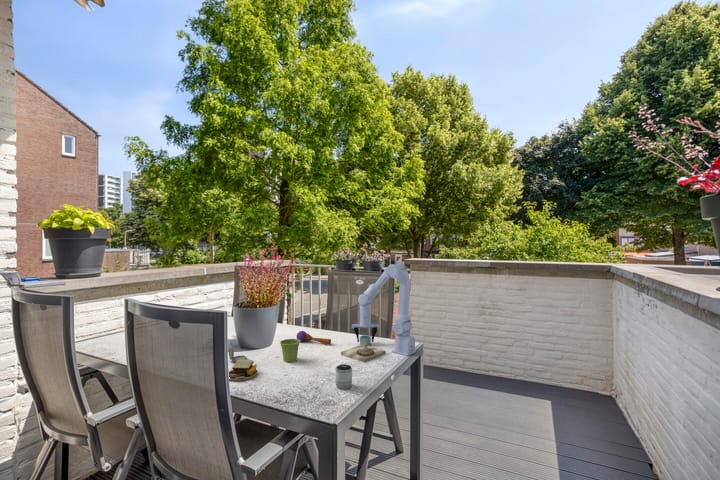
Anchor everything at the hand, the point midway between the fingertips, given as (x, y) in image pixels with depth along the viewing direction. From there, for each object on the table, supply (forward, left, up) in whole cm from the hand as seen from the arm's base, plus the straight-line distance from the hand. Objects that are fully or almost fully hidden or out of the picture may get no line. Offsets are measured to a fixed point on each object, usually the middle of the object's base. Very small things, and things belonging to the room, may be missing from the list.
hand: (365, 341), depth 185 cm
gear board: (-10, +13, -1) cm, 16 cm away
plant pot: (+10, +42, -2) cm, 43 cm away
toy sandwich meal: (+10, +66, -2) cm, 67 cm away
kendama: (+23, +17, -2) cm, 28 cm away
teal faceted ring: (0, 0, -1) cm, 1 cm away
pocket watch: (+28, +59, -2) cm, 65 cm away
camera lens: (-29, +46, -2) cm, 54 cm away
